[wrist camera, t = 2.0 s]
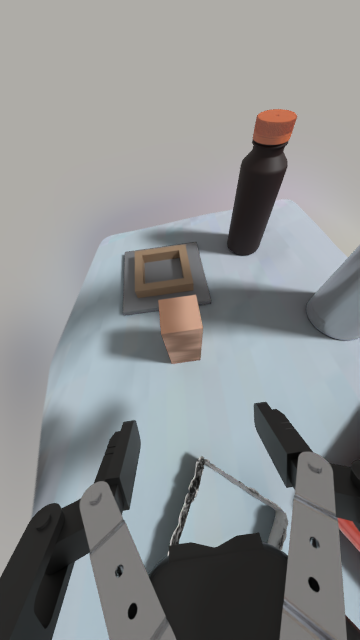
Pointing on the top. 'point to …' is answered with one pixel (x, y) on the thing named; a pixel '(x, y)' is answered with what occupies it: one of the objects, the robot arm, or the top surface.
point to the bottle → (260, 180)
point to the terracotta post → (181, 328)
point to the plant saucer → (350, 532)
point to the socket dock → (162, 277)
